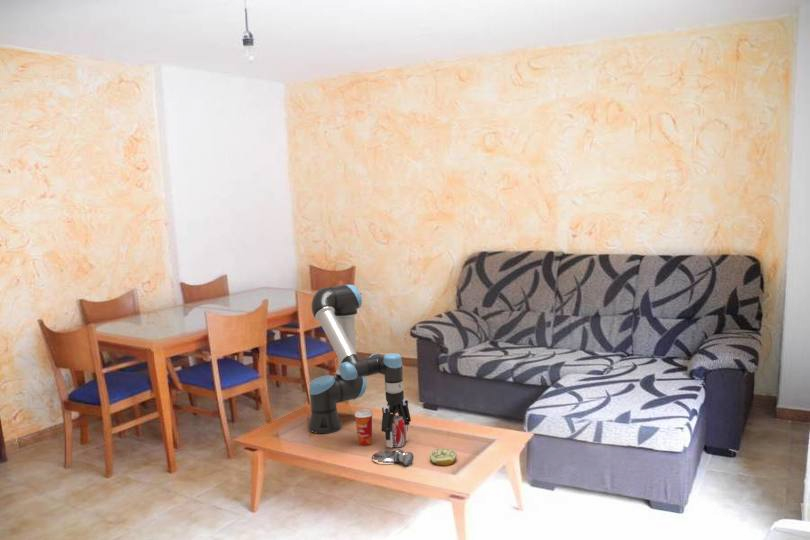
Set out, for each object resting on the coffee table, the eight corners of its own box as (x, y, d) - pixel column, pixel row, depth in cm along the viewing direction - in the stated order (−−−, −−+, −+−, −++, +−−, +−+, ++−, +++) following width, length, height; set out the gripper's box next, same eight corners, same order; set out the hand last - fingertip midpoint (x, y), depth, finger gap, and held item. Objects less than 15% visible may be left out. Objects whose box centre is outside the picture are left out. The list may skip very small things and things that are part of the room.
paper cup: (352, 444, 278) (350, 412, 277) (365, 438, 284) (363, 407, 282) (365, 448, 273) (363, 415, 271) (378, 442, 278) (376, 410, 277)
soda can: (386, 447, 273) (384, 419, 271) (394, 441, 279) (392, 414, 278) (400, 449, 269) (399, 421, 268) (408, 443, 276) (407, 415, 274)
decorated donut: (430, 467, 250) (430, 458, 250) (429, 456, 261) (429, 447, 260) (457, 466, 250) (457, 456, 250) (455, 455, 261) (455, 446, 260)
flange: (365, 460, 260) (365, 457, 260) (386, 450, 269) (386, 447, 269) (387, 467, 252) (387, 464, 252) (408, 456, 261) (407, 454, 261)
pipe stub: (393, 464, 255) (393, 451, 254) (402, 459, 258) (401, 447, 258) (405, 467, 251) (404, 454, 250) (414, 463, 254) (413, 450, 254)
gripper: (383, 399, 261) (386, 453, 264) (417, 385, 277) (420, 437, 279) (370, 396, 266) (373, 449, 268) (404, 383, 282) (407, 433, 284)
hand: (397, 443), depth 274 cm, fingers open, 9 cm apart
